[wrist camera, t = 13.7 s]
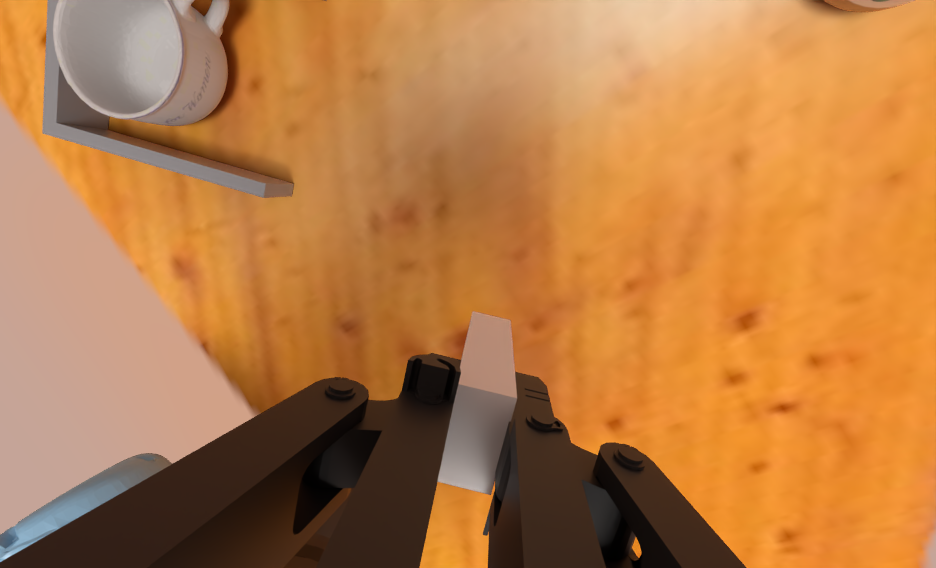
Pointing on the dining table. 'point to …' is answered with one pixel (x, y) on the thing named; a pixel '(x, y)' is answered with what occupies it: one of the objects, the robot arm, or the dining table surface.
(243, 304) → the dining table surface
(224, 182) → the box
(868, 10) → the vase
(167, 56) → the teacup
